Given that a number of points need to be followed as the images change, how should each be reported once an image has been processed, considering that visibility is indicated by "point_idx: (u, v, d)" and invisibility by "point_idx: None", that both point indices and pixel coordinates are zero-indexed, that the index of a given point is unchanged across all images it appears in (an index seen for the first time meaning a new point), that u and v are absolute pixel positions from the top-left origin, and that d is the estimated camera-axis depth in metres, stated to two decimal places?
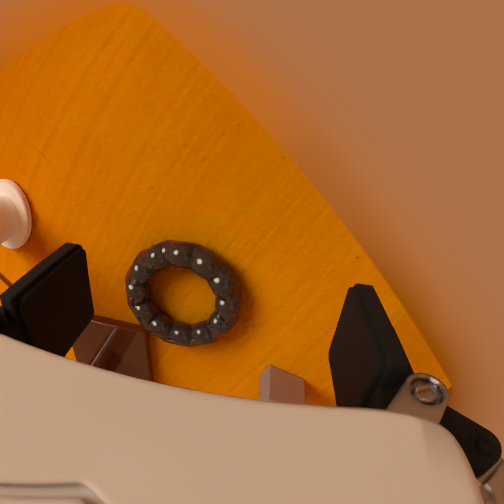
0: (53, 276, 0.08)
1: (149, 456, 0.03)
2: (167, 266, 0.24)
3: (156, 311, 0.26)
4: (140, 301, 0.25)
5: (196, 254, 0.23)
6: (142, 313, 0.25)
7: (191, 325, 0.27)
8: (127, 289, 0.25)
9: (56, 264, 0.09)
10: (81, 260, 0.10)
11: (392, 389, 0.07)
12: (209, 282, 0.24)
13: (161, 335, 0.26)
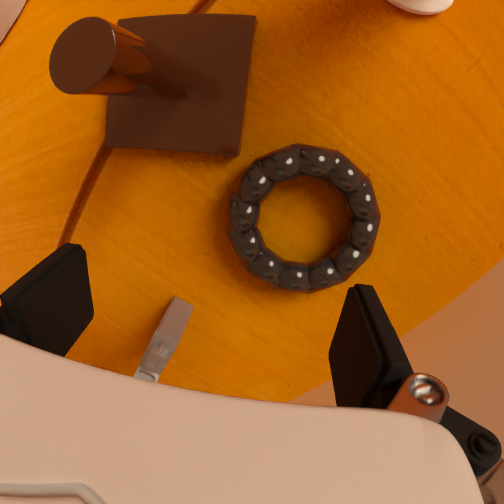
0: (53, 276, 0.08)
1: (149, 456, 0.03)
2: (356, 219, 0.19)
3: None
4: (304, 171, 0.18)
5: (368, 256, 0.20)
6: (286, 172, 0.18)
7: None
8: (324, 155, 0.17)
9: (56, 264, 0.09)
10: (81, 260, 0.10)
11: (392, 389, 0.07)
12: (332, 266, 0.20)
13: (248, 194, 0.18)
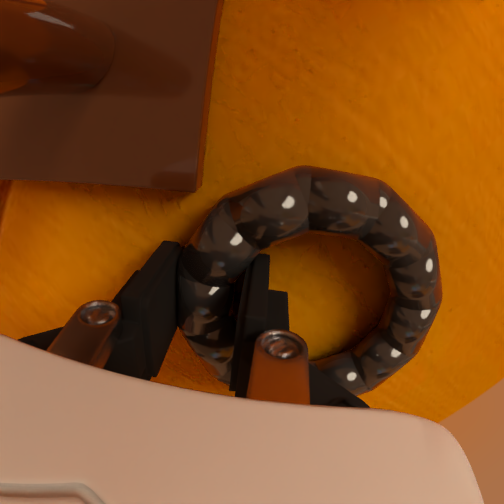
0: (167, 273, 0.09)
1: (149, 456, 0.03)
2: (404, 305, 0.10)
3: None
4: (318, 224, 0.09)
5: None
6: (283, 227, 0.09)
7: (232, 316, 0.12)
8: (359, 192, 0.09)
9: (166, 262, 0.10)
10: None
11: None
12: (357, 374, 0.11)
13: (209, 269, 0.10)
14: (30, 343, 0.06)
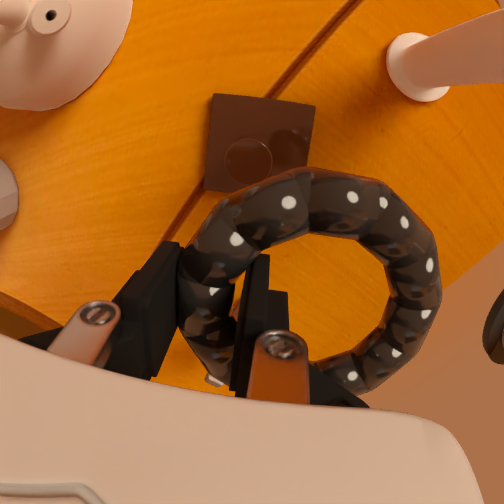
0: (167, 274, 0.09)
1: (149, 456, 0.03)
2: (404, 305, 0.10)
3: None
4: (318, 225, 0.09)
5: None
6: (283, 228, 0.09)
7: (232, 317, 0.12)
8: (359, 193, 0.09)
9: (165, 262, 0.10)
10: None
11: None
12: (357, 374, 0.11)
13: (209, 270, 0.10)
14: (30, 343, 0.06)
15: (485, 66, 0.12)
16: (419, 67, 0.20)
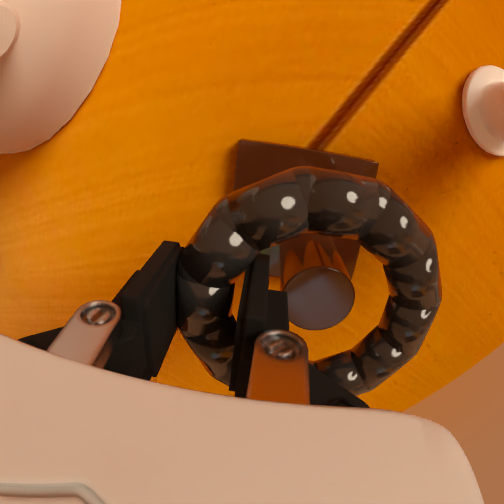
0: (167, 273, 0.09)
1: (149, 456, 0.03)
2: (404, 305, 0.10)
3: None
4: (318, 225, 0.09)
5: (414, 355, 0.11)
6: (283, 228, 0.09)
7: (232, 317, 0.12)
8: (359, 193, 0.09)
9: (166, 262, 0.10)
10: None
11: None
12: (357, 374, 0.11)
13: (208, 270, 0.10)
14: (30, 343, 0.06)
15: None
16: None
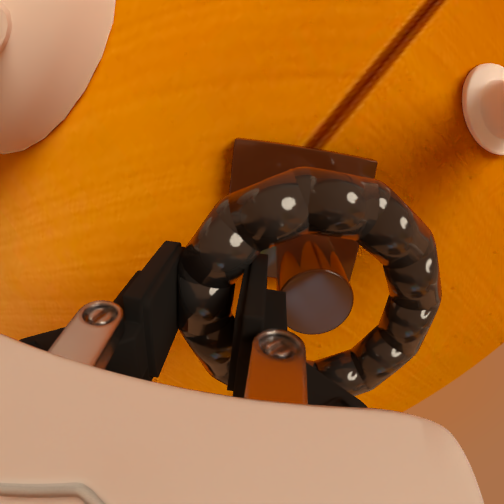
0: (169, 274, 0.09)
1: (149, 456, 0.03)
2: (404, 305, 0.10)
3: None
4: (318, 226, 0.09)
5: None
6: (283, 228, 0.09)
7: (232, 317, 0.12)
8: (359, 194, 0.09)
9: (167, 262, 0.10)
10: None
11: None
12: (356, 374, 0.11)
13: (209, 270, 0.10)
14: (32, 344, 0.06)
15: None
16: None
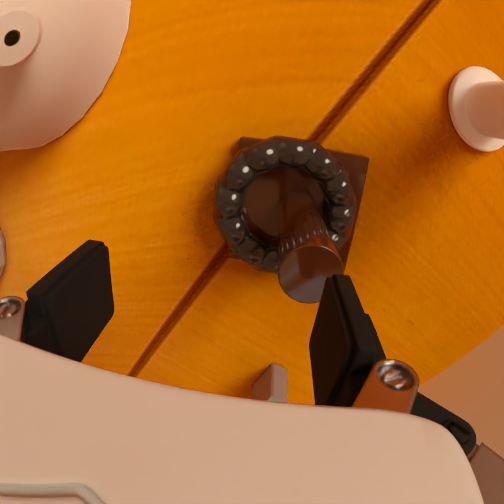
0: (79, 272, 0.09)
1: (149, 456, 0.03)
2: (333, 204, 0.20)
3: None
4: (283, 160, 0.19)
5: (346, 239, 0.21)
6: (267, 161, 0.19)
7: None
8: (302, 145, 0.19)
9: (81, 261, 0.09)
10: (104, 257, 0.10)
11: (363, 374, 0.07)
12: None
13: (233, 182, 0.20)
14: None
15: None
16: (495, 119, 0.15)
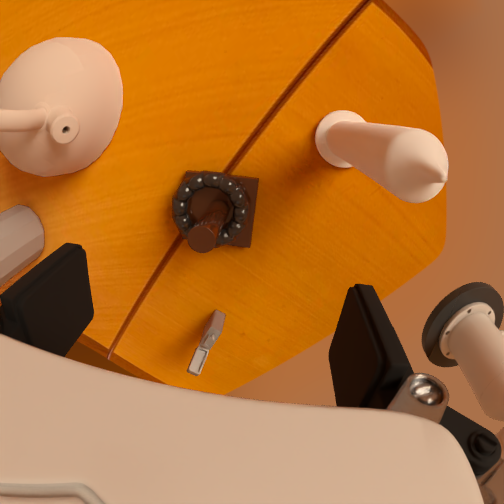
0: (53, 276, 0.08)
1: (149, 456, 0.03)
2: (234, 207, 0.38)
3: (196, 191, 0.38)
4: (206, 185, 0.37)
5: (243, 226, 0.39)
6: (197, 185, 0.37)
7: (187, 214, 0.39)
8: (214, 176, 0.36)
9: (57, 264, 0.09)
10: (81, 260, 0.10)
11: (392, 389, 0.07)
12: (225, 232, 0.39)
13: (180, 197, 0.37)
14: None
15: (358, 169, 0.25)
16: (333, 149, 0.32)
